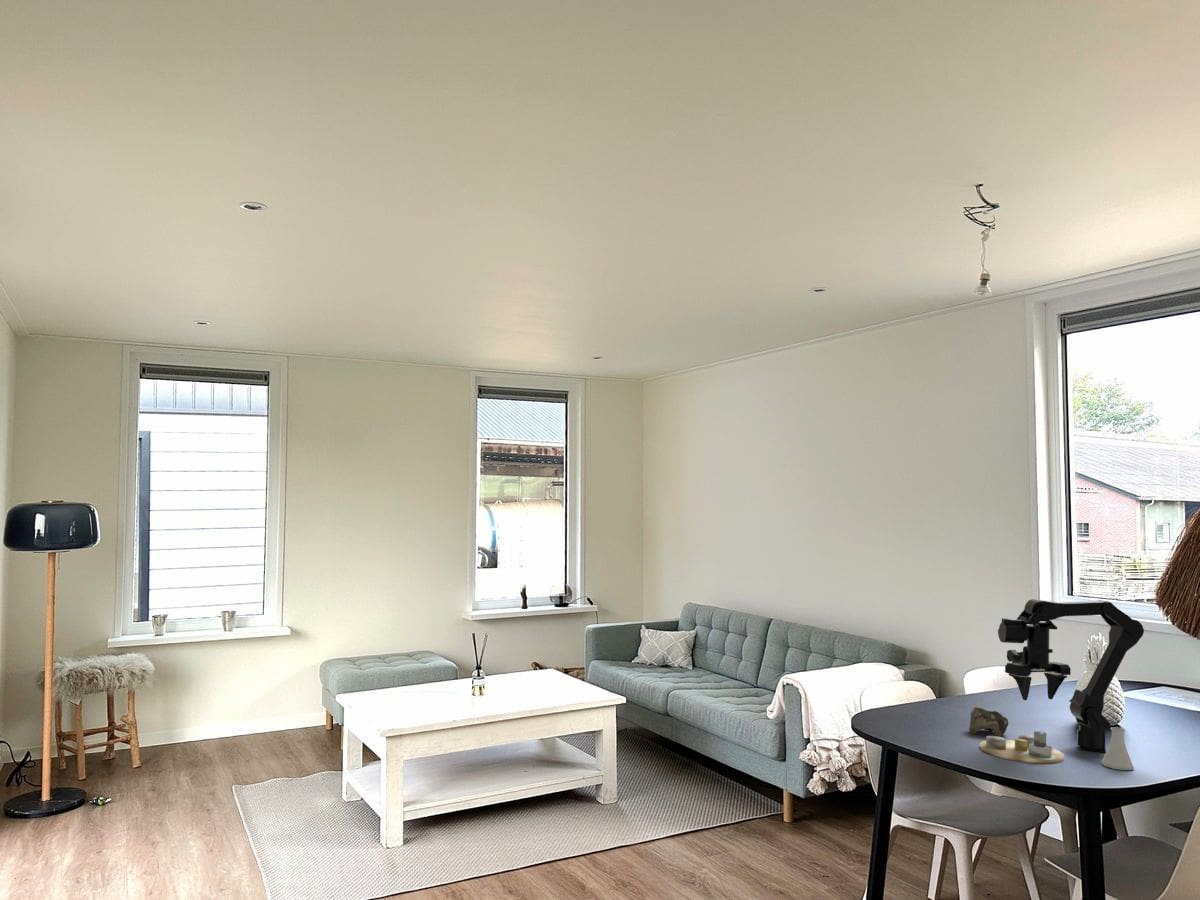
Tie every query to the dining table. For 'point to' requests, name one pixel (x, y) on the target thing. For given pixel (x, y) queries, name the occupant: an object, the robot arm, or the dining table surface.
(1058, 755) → the carrier plate
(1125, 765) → the flask
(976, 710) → the fossil
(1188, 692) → the dining table surface
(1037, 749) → the silver metal knob
